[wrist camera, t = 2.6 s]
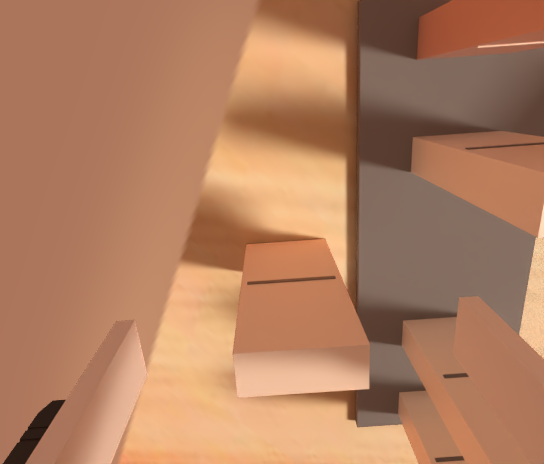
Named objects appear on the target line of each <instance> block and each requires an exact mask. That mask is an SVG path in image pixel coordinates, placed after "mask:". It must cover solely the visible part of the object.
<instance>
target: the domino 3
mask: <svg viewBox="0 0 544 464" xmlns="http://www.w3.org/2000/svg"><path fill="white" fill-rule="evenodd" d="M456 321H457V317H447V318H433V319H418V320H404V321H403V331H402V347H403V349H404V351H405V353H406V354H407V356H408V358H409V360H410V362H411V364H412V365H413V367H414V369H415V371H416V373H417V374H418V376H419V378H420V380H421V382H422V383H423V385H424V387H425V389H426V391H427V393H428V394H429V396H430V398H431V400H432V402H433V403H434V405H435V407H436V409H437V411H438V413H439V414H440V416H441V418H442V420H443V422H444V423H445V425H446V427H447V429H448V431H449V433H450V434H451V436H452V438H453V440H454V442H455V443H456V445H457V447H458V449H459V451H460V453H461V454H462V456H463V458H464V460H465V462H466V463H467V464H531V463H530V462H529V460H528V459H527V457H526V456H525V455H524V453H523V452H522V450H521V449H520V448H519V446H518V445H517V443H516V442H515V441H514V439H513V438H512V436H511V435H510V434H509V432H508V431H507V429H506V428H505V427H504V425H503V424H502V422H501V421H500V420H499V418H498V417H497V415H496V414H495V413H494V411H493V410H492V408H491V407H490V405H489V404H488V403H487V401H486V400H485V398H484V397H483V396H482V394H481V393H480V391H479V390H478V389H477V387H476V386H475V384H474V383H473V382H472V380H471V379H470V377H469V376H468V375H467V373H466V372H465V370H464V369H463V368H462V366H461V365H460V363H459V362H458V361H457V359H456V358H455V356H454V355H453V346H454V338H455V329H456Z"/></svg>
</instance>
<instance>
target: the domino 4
mask: <svg viewBox="0 0 544 464" xmlns="http://www.w3.org/2000/svg"><path fill="white" fill-rule="evenodd" d="M398 415H399V417H400V420H401V422H402V425H403V427H404V429H405V432H406V434H407V437H408V439H409V441H410V444H411V446H412V448H413V451H414V453H415V456H416V458H417V460H418V463H419V464H467V463H466V462H465V460H464V458H463V456H462V454H461V453H460V451H459V449H458V447H457V445H456V443H455V442H454V440H453V438H452V436H451V434H450V433H449V431H448V429H447V427H446V425H445V423H444V422H443V420H442V418H441V416H440V414H439V413H438V411H437V409H436V407H435V405H434V403H433V402H432V400H431V398H430V396H429V394H428V393H427V391H412V392H399V406H398Z"/></svg>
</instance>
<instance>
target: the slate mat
mask: <svg viewBox="0 0 544 464" xmlns="http://www.w3.org/2000/svg"><path fill="white" fill-rule="evenodd" d="M450 1H452V0H360V1H359V2H358V112H357V276H356V313H357V315H358V317H359V320H360V322H361V324H362V327H363V329H364V332H365V334H366V336H367V339H368V341H369V343H370V371H369V389H360V390H356V424H357V427H368V426H383V425H398V424H402V422H401V420H400V417H399V415H398V406H399V392H412V391H426V389H425V387H424V385H423V383H422V382H421V380H420V378H419V376H418V374H417V373H416V371H415V369H414V367H413V365H412V364H411V362H410V360H409V358H408V356H407V354H406V353H405V351H404V349H403V347H402V331H403V321H404V320H418V319H433V318H447V317H457V312H458V304H459V297H472V296H479V297H480V298H481V299H482V300H483V301H484V302H485V303H486V304H487V305H488V306H489V307H490V308H491V309H492V310H493V311H494V312H495V313H496V314H497V315H498V316H499V317H500V318H502V319H503V320H504V321H505V322H506V323H507V324H508V325H509V326H510V327H511V328H512V329H513V330H514V331H515V332H516V333H517V334H518V335H519V331H520V325H521V320H522V314H523V308H524V302H525V296H526V291H527V285H528V279H529V273H530V267H531V262H532V256H533V250H534V244H535V238H536V237H535V236H534V235H532V234H530V233H528V232H526V231H524V230H522V229H520V228H518V227H516V226H514V225H512V224H510V223H508V222H506V221H504V220H503V219H501V218H499V217H497V216H495V215H493V214H491V213H489V212H487V211H485V210H483V209H481V208H479V207H477V206H475V205H473V204H472V203H470V202H468V201H466V200H464V199H462V198H460V197H458V196H456V195H454V194H452V193H450V192H448V191H446V190H444V189H442V188H441V187H439V186H437V185H435V184H433V183H431V182H429V181H427V180H425V179H423V178H421V177H419V176H417V175H415V174H413V173H411V162H412V143H413V137H421V136H435V135H449V134H463V133H477V132H491V131H507V132H514V133H520V134H527V135H534V136H541V137H544V47H543V48H537V49H531V50H526V51H520V52H514V53H505V54H491V55H478V56H464V57H450V58H436V59H422V60H417V49H418V30H419V17H421V16H423V15H425V14H427V13H429V12H431V11H433V10H435V9H436V8H438V7H440V6H442V5H444V4H446V3H448V2H450Z"/></svg>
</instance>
